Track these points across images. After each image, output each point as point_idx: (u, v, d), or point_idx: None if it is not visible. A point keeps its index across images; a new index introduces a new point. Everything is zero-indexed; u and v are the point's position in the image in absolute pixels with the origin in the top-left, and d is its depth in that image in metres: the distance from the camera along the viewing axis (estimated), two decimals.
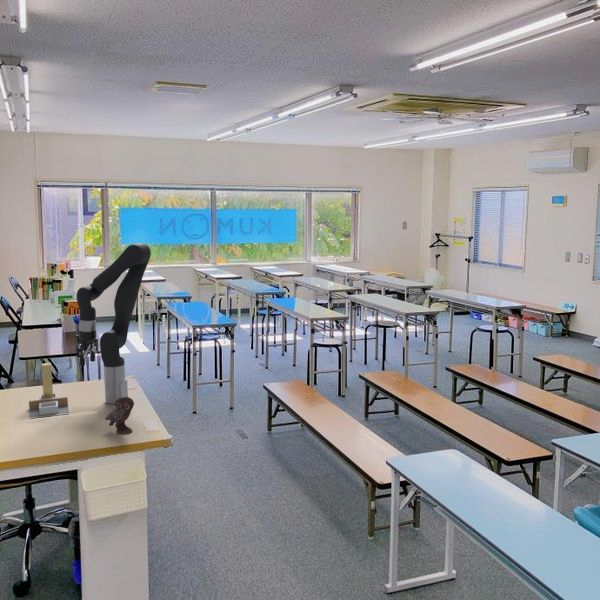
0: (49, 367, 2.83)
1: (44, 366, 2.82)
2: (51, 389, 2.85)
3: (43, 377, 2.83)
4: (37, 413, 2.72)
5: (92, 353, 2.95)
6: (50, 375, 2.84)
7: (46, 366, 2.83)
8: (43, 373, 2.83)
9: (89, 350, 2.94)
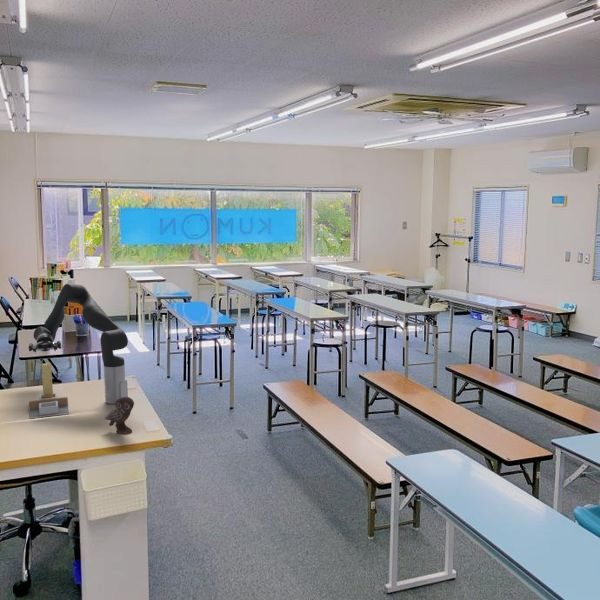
0: (49, 367, 2.83)
1: (44, 366, 2.82)
2: (51, 389, 2.85)
3: (43, 377, 2.83)
4: (37, 413, 2.72)
5: (54, 346, 2.99)
6: (50, 375, 2.84)
7: (46, 366, 2.83)
8: (43, 373, 2.83)
9: (52, 348, 3.00)
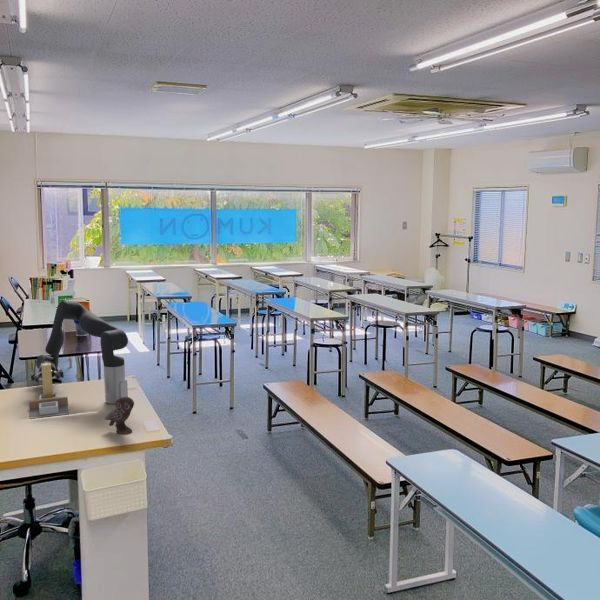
0: (49, 367, 2.83)
1: (44, 366, 2.82)
2: (51, 389, 2.85)
3: (43, 377, 2.83)
4: (37, 413, 2.72)
5: None
6: (50, 375, 2.84)
7: (46, 366, 2.83)
8: (43, 373, 2.83)
9: (55, 377, 2.97)
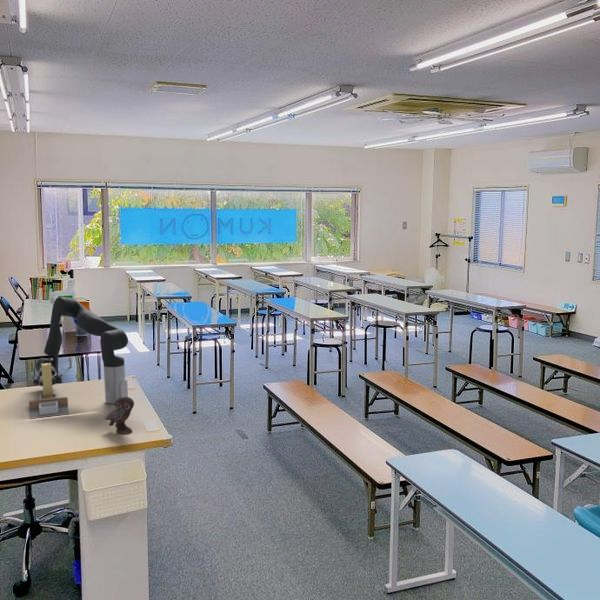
0: (49, 367, 2.83)
1: (44, 366, 2.82)
2: (51, 389, 2.85)
3: (43, 377, 2.83)
4: (37, 413, 2.72)
5: None
6: (50, 375, 2.84)
7: (46, 366, 2.83)
8: (43, 373, 2.83)
9: None
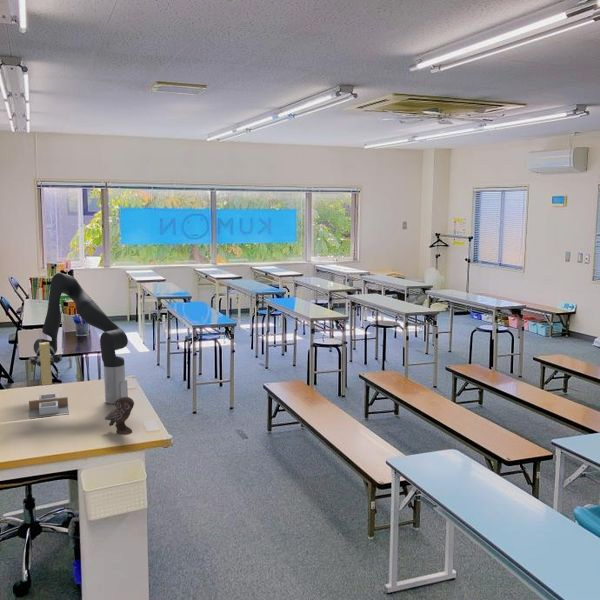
0: (47, 346, 2.69)
1: (42, 345, 2.69)
2: (49, 369, 2.71)
3: (41, 357, 2.69)
4: (37, 413, 2.72)
5: None
6: (48, 355, 2.70)
7: (44, 345, 2.69)
8: (41, 352, 2.69)
9: None
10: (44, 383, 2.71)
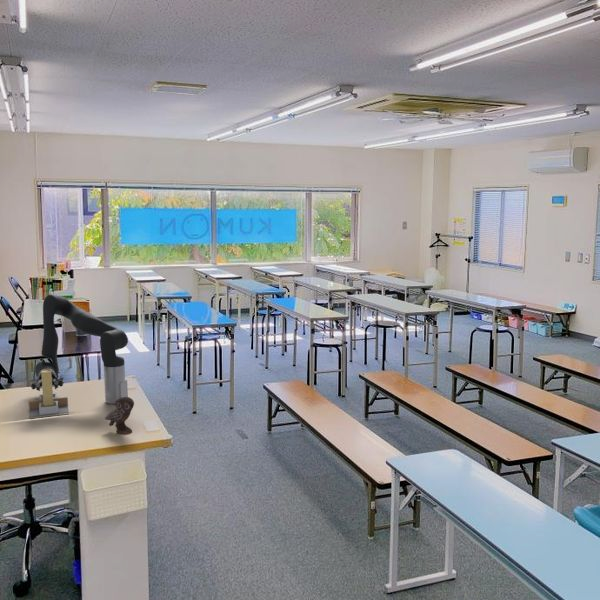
0: (49, 374, 2.71)
1: (44, 373, 2.71)
2: (51, 397, 2.73)
3: (43, 384, 2.71)
4: (37, 413, 2.72)
5: None
6: (50, 382, 2.72)
7: (46, 373, 2.71)
8: (43, 380, 2.71)
9: (53, 386, 2.77)
10: None
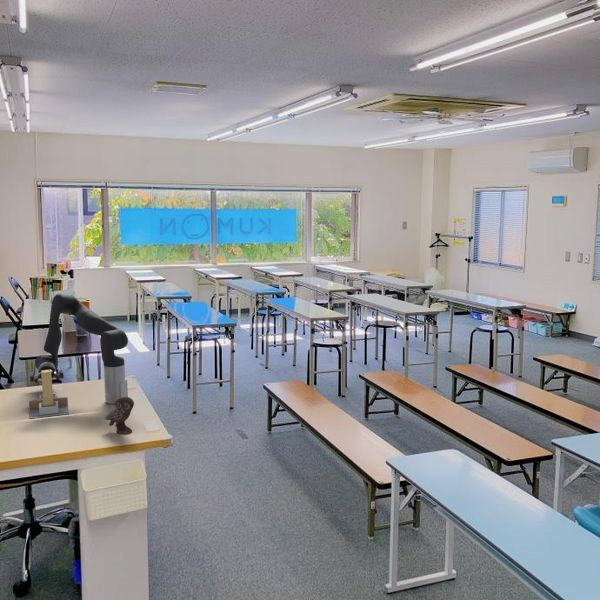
0: (49, 374, 2.71)
1: (44, 373, 2.71)
2: (51, 397, 2.73)
3: (43, 384, 2.71)
4: (37, 413, 2.72)
5: None
6: (50, 382, 2.72)
7: (46, 373, 2.71)
8: (43, 380, 2.71)
9: (54, 378, 2.90)
10: None
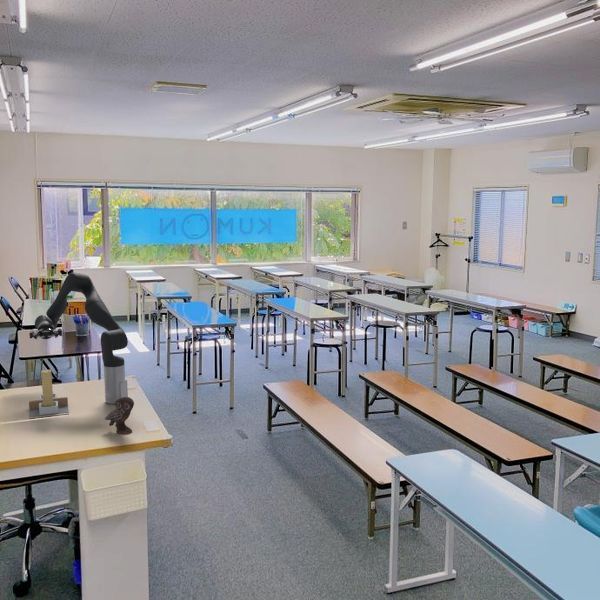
0: (49, 374, 2.71)
1: (44, 373, 2.71)
2: (51, 397, 2.73)
3: (43, 384, 2.71)
4: (37, 413, 2.72)
5: (55, 334, 2.95)
6: (50, 382, 2.72)
7: (46, 373, 2.71)
8: (43, 380, 2.71)
9: (53, 335, 2.97)
10: None
